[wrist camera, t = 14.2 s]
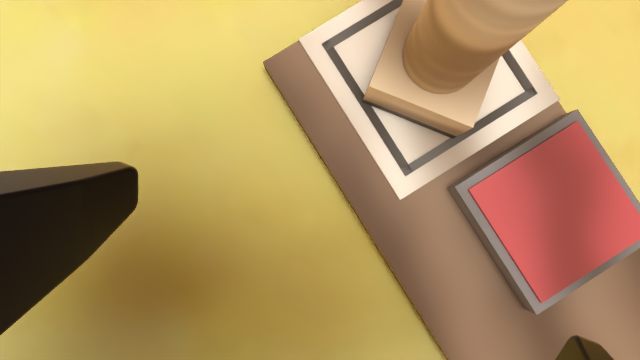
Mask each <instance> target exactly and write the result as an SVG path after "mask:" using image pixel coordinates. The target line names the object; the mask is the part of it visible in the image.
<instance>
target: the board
mask: <svg viewBox="0 0 640 360" xmlns="http://www.w3.org/2000/svg"><path fill="white" fill-rule="evenodd" d="M402 2H403V0H362V1H360V2H359V3H357V4H355V5H354V6H352V7H350V8H349V9H347V10H346V11H344V12H342V13H341V14H339V15H337V16H336V17H334V18H332V19H331V20H329V21H327V22H326V23H324V24H322V25H321V26H319V27H317V28H316V29H314V30H312V31H311V32H309V33H308V34H306V35H304V36H303V37H301V38H299V39H298V40H299V41H297V42H295V43H294V44H292V45H291V46H289V47H287V48H286V49H284V50H282V51H281V52H279V53H277V54H276V55H274V56H272V57H271V58H269V59H267V60H266V61H264V62H263V64H264V66H265V69H266V71H267V72H268V74H269V75H270V77H271V79H272V80H273V82H274V83H275V85H276V86H277V88H278V90H279V91H280V93H281V94H282V96H283V98H284V99H285V101H286V102H287V104H288V106H289V107H290V109H291V110H292V112H293V114H294V115H295V117H296V118H297V120H298V122H299V123H300V125H301V126H302V128H303V130H304V131H305V133H306V134H307V136H308V138H309V139H310V141H311V142H312V144H313V146H314V147H315V149H316V150H317V152H318V154H319V155H320V157H321V158H322V160H323V162H324V163H325V165H326V166H327V168H328V170H329V171H330V173H331V174H332V176H333V178H334V179H335V181H336V182H337V184H338V186H339V187H340V189H341V190H342V192H343V193H344V195H345V197H346V198H347V200H348V201H349V203H350V205H351V206H352V208H353V209H354V211H355V213H356V214H357V216H358V217H359V219H360V221H361V222H362V224H363V225H364V227H365V229H366V230H367V232H368V233H369V235H370V237H371V238H372V240H373V241H374V243H375V245H376V246H377V248H378V249H379V251H380V253H381V254H382V256H383V257H384V259H385V261H386V262H387V264H388V265H389V267H390V269H391V270H392V272H393V273H394V275H395V277H396V278H397V280H398V281H399V283H400V285H401V286H402V288H403V289H404V291H405V293H406V294H407V296H408V297H409V299H410V301H411V302H412V304H413V305H414V307H415V308H416V310H417V312H418V313H419V315H420V316H421V318H422V320H423V321H424V323H425V324H426V326H427V328H428V329H429V331H430V332H431V334H432V336H433V337H434V339H435V340H436V342H437V344H438V345H439V347H440V348H441V350H442V352H443V353H444V355H445V356H446V358H447V360H555V359H556V357H557V356H558V354H559V353H560V351H561V350H562V348H563V346H564V345H565V343H566V342H567V340H568V339H569V338H570V337H572V336H575V335H578V336H581V337H583V338H586V339H589V340H591V341H594V342H597V343H599V344H600V345H601V346H602V347H603V348H604V349H605V350H606V351H607V352H608V353H609V354H610V355H611V356H612V358H613V359H614V360H640V203H639V201H638V200H637V198H636V197H635V195H634V194H633V192H632V191H631V189H630V188H629V186H628V185H627V183H626V182H625V180H624V179H623V177H622V176H621V174H620V173H619V171H618V170H617V168H616V167H615V165H614V164H613V162H612V161H611V159H610V158H609V156H608V155H607V153H606V151H605V150H604V148H603V147H602V145H601V144H600V142H599V141H598V139H597V138H596V136H595V135H594V133H593V132H592V130H591V129H590V127H589V126H588V124H587V123H586V121H585V120H584V118H583V117H582V115H581V114H580V112H579V111H578V109H577V110H574V111H572V112H569V113H566V112H565V111H564V109H563V108H562V106H561V105H560V103H559V102H558V100H560V99H559V97H558V96H557V94H556V93H555V91H554V89H553V88H552V86H551V85H550V83H549V82H548V80H547V79H546V77H545V76H544V74H543V73H542V71H541V70H540V68H539V67H538V65H537V64H536V62H535V61H534V59H533V58H532V56H531V55H530V53H529V52H528V50H527V49H526V47H525V46H524V44H523V43H522V41H521V40H520V41H519V42H517V43H516V44H515V45H514V46H513V47H511V48H510V49H509V50H508V51H507V52H506V53H504V54H503V55H502V56H501V57H500V58H499V61H498V63H497V66H496V69H495V71H494V74H493V77H492V79H491V82H490V85H489V87H488V90H487V92H486V95H485V98H484V100H483V103H482V106H481V108H480V111H479V114H478V116H477V119H476V122H475V124H474V127H473V128H472V129H470V130H468V131H466V132H464V133H463V134H461V135H459V136H457V137H455V138H451V137H448V136H446V135H443V134H441V133H438V132H436V131H433V130H431V129H428V128H426V127H423V126H421V125H418V124H416V123H413V122H411V121H408V120H406V119H403V118H401V117H398V116H396V115H393V114H391V113H388V112H386V111H383V110H381V109H378V108H376V107H374V106H371V105H369V104H366V103H364V102H362V100H363V98H364V95H365V93H366V90H367V88H368V85H369V83H370V81H371V78H372V76H373V73H374V71H375V68H376V66H377V63H378V61H379V58H380V56H381V53H382V51H383V48H384V46H385V43H386V41H387V38H388V36H389V33H390V31H391V29H392V26H393V24H394V21H395V19H396V16H397V14H398V11H399V9H400V7H401V4H402Z"/></svg>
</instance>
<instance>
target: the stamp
mask: <svg viewBox="0 0 640 360" xmlns="http://www.w3.org/2000/svg"><path fill="white" fill-rule="evenodd" d="M566 1H568V0H403V2H402V4H401V7H400V9H399V11H398V14H397V16H396V19H395V21H394V24H393V26H392V29H391V31H390V33H389V36H388V38H387V41H386V43H385V46H384V48H383V51H382V53H381V56H380V58H379V61H378V63H377V66H376V68H375V71H374V73H373V76H372V78H371V81H370V83H369V85H368V88H367V90H366V93H365V95H364V98H363V100H362V102H364V103H366V104H369V105H371V106H374V107H376V108H378V109H381V110H383V111H386V112H388V113H391V114H393V115H396V116H398V117H401V118H403V119H406V120H408V121H411V122H413V123H416V124H418V125H421V126H423V127H426V128H428V129H431V130H433V131H436V132H438V133H441V134H443V135H446V136H448V137H451V138H455V137H457V136H459V135H461V134H463V133H464V132H466V131H468V130H470V129H472V128H473V127H474V124H475V122H476V119H477V116H478V114H479V111H480V108H481V106H482V103H483V100H484V98H485V95H486V92H487V90H488V87H489V85H490V82H491V79H492V77H493V74H494V71H495V69H496V66H497V63H498V61H499V58H500V57H501V56H502V55H503V54H504V53H506V52H507V51H508V50H509V49H510V48H511V47H513V46H514V45H515V44H516V43H517V42H519V41H520V40H521V39H522V38H523V37H525V36H526V35H527V34H528V33H529V32H531V31H532V30H533V29H534V28H535V27H537V26H538V25H539V24H540V23H541V22H543V21H544V20H545V19H546V18H547V17H549V16H550V15H551V14H552V13H553V12H555V11H556V10H557V9H558V8H559V7H560V6H562V5H563V4H564V3H565V2H566Z"/></svg>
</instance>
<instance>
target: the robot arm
mask: <svg viewBox="0 0 640 360" xmlns="http://www.w3.org/2000/svg"><path fill="white" fill-rule="evenodd" d="M137 203H138V172H137V170H136V169H135V168H134V167H132V166H130V165H127V164H124V163H122V162H108V163H96V164H84V165H72V166H61V167H49V168H37V169H26V170H14V171H2V172H0V335H1V334H2V333H4V332H5V331H6V330H7V329H8V328H9V327H10V326H12V325H13V324H14V323H15V322H16V321H17V320H19V319H20V318H21V317H22V316H23V315H24V314H25V313H27V312H28V311H29V310H30V309H31V308H32V307H34V306H35V305H36V304H37V303H38V302H39V301H40V300H42V299H43V298H44V297H45V296H46V295H47V294H49V293H50V292H51V291H52V290H53V289H54V288H55V287H57V286H58V285H59V284H60V283H61V282H62V281H64V280H65V279H66V278H67V277H68V276H69V275H70V274H72V273H73V272H74V271H75V270H76V269H77V268H78V267H80V266H81V265H82V264H83V263H84V262H85V261H86V260H87V259H88V258H89V257H90V256H91V255H92V254H93V253H94V252H95V251H96V250H97V249H98V248H99V247H100V246H101V245H102V244H103V243H104V242H105V241H106V240H107V239H108V238H109V236H110V235H111V234H112V233H113V232H114V231H115V230H116V229H117V228H118V227H119V226H120V225H121V224H122V223H123V222H124V221H125V220H126V219H127V217H128V216H129V215H130V214H131V213H132V212H133V211H134V210H135V208H136V206H137ZM555 360H614V359H613V358H612V356H611V355H610V354H609V353H608V352H607V351H606V350H605V349H604V348H603V347H602V346H601V345H600V344H599V343H597V342H594V341H591V340H589V339H586V338H583V337H581V336H578V335H575V336H572V337H570V338H569V339H568V340H567V342H566V343H565V345H564V346H563V348H562V350H561V351H560V353H559V354H558V356H557V357H556V359H555Z"/></svg>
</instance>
